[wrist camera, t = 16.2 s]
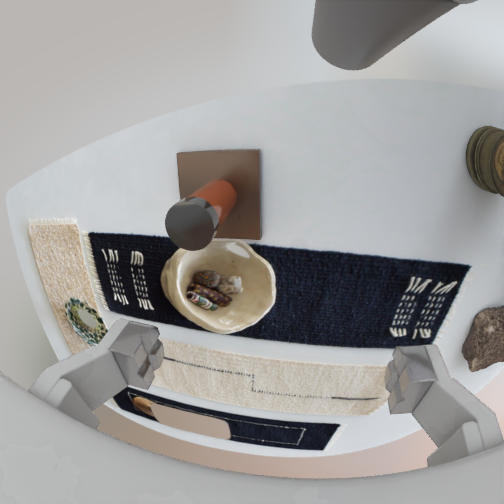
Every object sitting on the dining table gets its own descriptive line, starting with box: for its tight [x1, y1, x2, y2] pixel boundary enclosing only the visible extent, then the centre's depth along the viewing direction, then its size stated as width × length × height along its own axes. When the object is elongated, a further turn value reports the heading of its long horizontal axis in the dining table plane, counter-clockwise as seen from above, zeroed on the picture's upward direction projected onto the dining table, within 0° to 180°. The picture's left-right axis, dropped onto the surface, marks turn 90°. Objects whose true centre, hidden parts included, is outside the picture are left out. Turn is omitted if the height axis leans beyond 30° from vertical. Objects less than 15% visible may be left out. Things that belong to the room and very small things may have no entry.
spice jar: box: [165, 179, 237, 251], centre depth 29 cm, size 5×5×10 cm
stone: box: [462, 307, 504, 372], centre depth 33 cm, size 11×13×6 cm
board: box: [177, 149, 261, 240], centre depth 34 cm, size 11×10×1 cm
